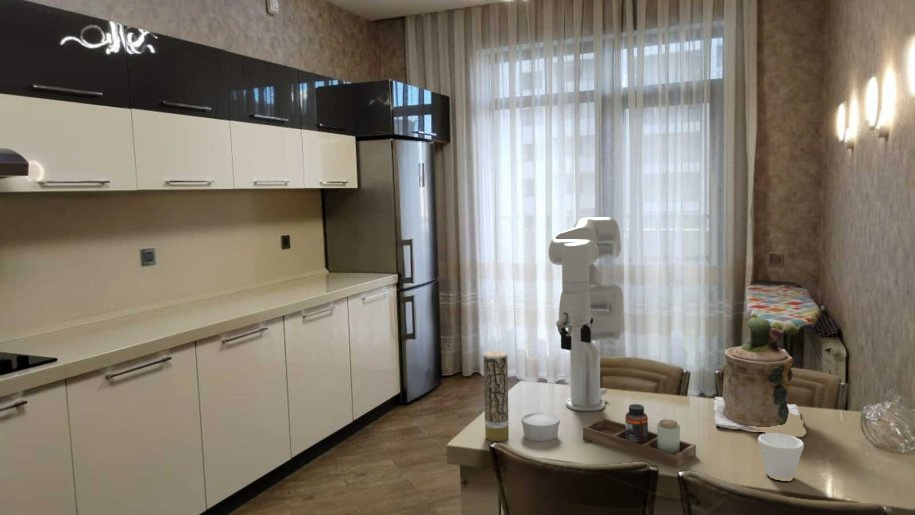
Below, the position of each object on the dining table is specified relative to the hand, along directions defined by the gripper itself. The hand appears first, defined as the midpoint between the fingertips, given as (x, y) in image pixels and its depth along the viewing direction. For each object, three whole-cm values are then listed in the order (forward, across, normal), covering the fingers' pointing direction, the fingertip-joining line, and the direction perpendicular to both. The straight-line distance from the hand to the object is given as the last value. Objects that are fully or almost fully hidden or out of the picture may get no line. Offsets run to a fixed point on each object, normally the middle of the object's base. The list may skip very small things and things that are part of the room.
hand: (576, 345), depth 183 cm
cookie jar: (+28, -46, +34) cm, 63 cm away
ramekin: (+27, +7, -8) cm, 29 cm away
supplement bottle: (+26, -2, +18) cm, 32 cm away
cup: (+26, -10, +52) cm, 59 cm away
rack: (+26, -2, +18) cm, 32 cm away
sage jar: (+26, -2, +27) cm, 38 cm away
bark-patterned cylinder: (+27, +17, -16) cm, 35 cm away
